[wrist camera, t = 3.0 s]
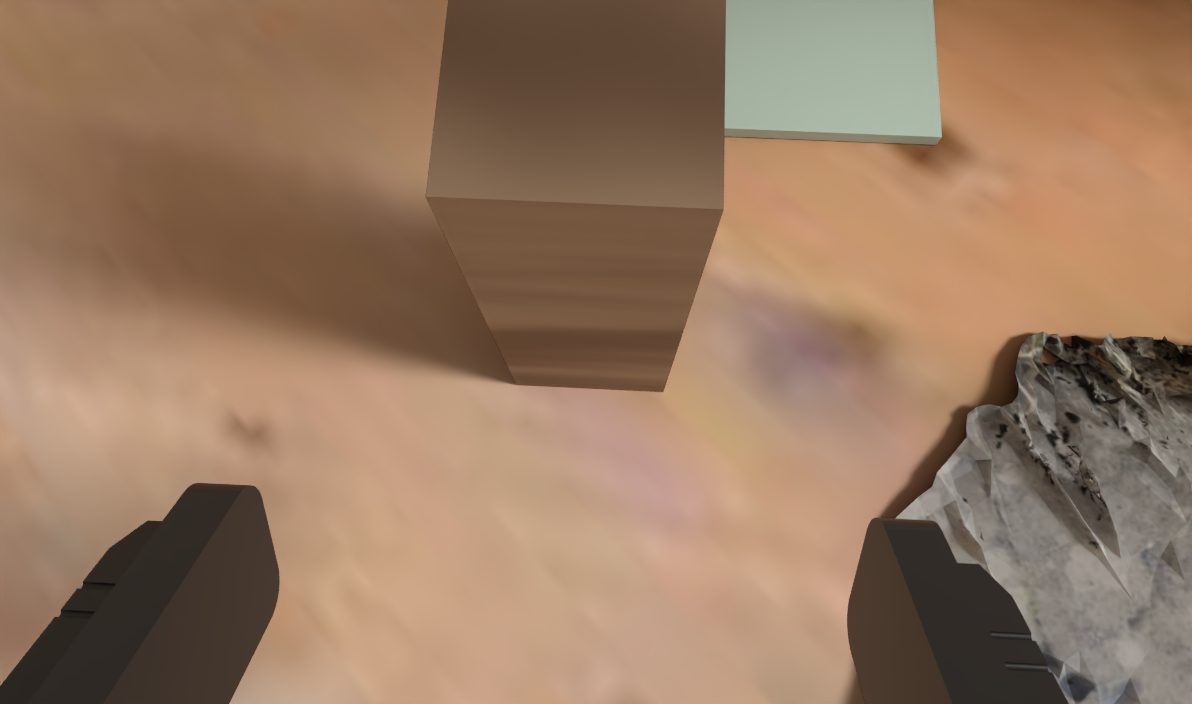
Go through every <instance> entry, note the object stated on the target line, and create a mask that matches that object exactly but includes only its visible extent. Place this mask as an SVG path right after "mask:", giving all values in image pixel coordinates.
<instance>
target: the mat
mask: <svg viewBox="0 0 1192 704" xmlns="http://www.w3.org/2000/svg"><path fill="white" fill-rule="evenodd" d="M724 136H730V137H754V138H779V139H803V140H827V141H852V142H876V143H901V144H925V145H936V144H937V143H938V141H939V140H940V139H941V138H942V132H941V116H940V101H939V86H938V70H937V55H936V40H935V24H934V9H933V0H726V50H725V131H724Z"/></svg>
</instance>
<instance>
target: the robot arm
mask: <svg viewBox="0 0 1192 704" xmlns="http://www.w3.org/2000/svg"><path fill="white" fill-rule="evenodd" d="M278 592H279V569H278V564H277V560H276V555H275V551H274V547H273V543H272V538H271V534H270V530H269V526H268V521H267V517H266V513H265V509H264V504H263V500H262V497H261V494H260V492H259V490H258V489H257V488H256V487H255V486H250V485H229V484H208V483H195V484H193V485H191V486H190V487H188V488H187V489H186V490H185V492H184V493H183V494H182V496H181V497H180V498H179V500H178V501H177V502H176V504H175V505H174V506H173V508H172V509H171V510H170V512H169V513H168V514H167V516H166V517H165V518H164V520H163V521H147V522H145V523H144V524H142V525H141V526H140V527H138V528H137V529H136V530H134V531H133V532H131V533H130V534H129V535H127V536H126V537H124V538H123V539H122V540H120V541H119V542H118V543H116V544H115V545H113V546H112V547H111V548H109V549H108V551H107V552H106V553H105V554H104V556H103V557H102V558H101V560H100V561H99V562H98V563H97V565H96V566H95V567H94V568H93V570H92V571H91V572H90V573H89V575H88V576H87V577H86V579H85V580H84V581H83V587H82V588H81V589H77V590H76V591H75V592H74V594H73V595H72V596H71V597H70V599H69V600H68V601H67V603H66V604H65V605H64V606H63V608H62V609H61V615H60V616H59V617H55V618H54V619H53V620H52V621H51V623H50V624H49V625H48V627H47V628H46V629H45V630H44V632H43V633H42V634H41V635H40V637H39V638H38V639H37V640H36V642H35V643H34V644H33V645H32V647H31V648H30V649H29V651H28V652H27V653H26V654H25V656H24V657H23V658H22V659H21V661H20V662H19V663H18V664H17V666H16V667H15V668H14V669H13V671H12V672H11V673H10V675H9V676H8V677H7V678H6V680H5V681H4V682H3V683H2V685H1V686H0V704H229V703H230V701H231V699H232V697H233V695H234V693H235V691H236V689H237V687H238V685H239V683H240V681H241V679H242V677H243V675H244V672H245V670H246V668H247V666H248V664H249V662H250V660H251V658H252V656H253V654H254V652H255V650H256V648H257V646H258V644H259V642H260V640H261V638H262V636H263V634H264V632H265V630H266V628H267V626H268V624H269V622H270V620H271V618H272V616H273V613H274V610H275V607H276V603H277V598H278ZM847 628H848V638H849V645H850V650H851V654H852V657H853V661H854V664H855V668H856V672H857V675H858V679H859V682H860V686H861V689H862V693H863V697H864V700H865V704H1069V703H1068V701H1067V699H1066V697H1065V696H1064V694H1063V692H1062V690H1061V688H1060V686H1059V684H1058V682H1057V680H1056V678H1055V677H1054V675H1053V673H1052V672H1049V671H1048V663H1047V661H1046V659H1045V658H1044V656H1043V654H1042V652H1041V650H1040V648H1039V646H1038V644H1037V642H1036V641H1033V640H1032V637H1031V634H1032V633H1031V631H1030V629H1029V627H1028V625H1027V623H1026V621H1025V620H1024V618H1023V616H1022V614H1021V612H1020V610H1019V608H1018V606H1017V604H1016V602H1015V601H1014V599H1013V597H1012V596H1011V595H1010V594H1009V593H1008V592H1007V591H1006V590H1005V589H1004V588H1003V587H1002V586H1001V585H1000V584H999V583H998V582H997V581H996V580H995V579H994V578H993V577H992V576H991V575H990V574H989V573H988V572H987V571H986V570H985V569H984V568H983V567H982V566H981V565H980V564H969V563H957V561H956V559H955V557H954V555H953V553H952V550H951V548H950V546H949V544H948V542H947V540H946V538H945V536H944V534H943V531H942V530H941V528H940V526H939V525H938V524H937V523H936V522H935V521H932V520H913V519H892V518H874V519H872V520H871V522H870V524H869V526H868V529H867V532H866V536H865V540H864V544H863V548H862V552H861V555H860V559H859V563H858V567H857V571H856V575H855V579H854V583H853V587H852V591H851V594H850V598H849V604H848V614H847Z"/></svg>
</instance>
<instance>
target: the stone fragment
mask: <svg viewBox="0 0 1192 704" xmlns="http://www.w3.org/2000/svg"><path fill="white" fill-rule="evenodd" d="M1071 338H1072V345H1071V346H1069V345H1067V344H1065V343H1063V342H1062V340H1061V339H1060V337H1059V335H1058V334H1054V335H1049V334H1047V333H1044V332H1041V333H1038V334H1035V335H1032V336H1029V337H1027V339H1026V340H1025V342H1024V343H1023V345H1022V346H1021V348H1020V352H1019V355H1018V360H1017V365H1016V370H1015V374H1016V377H1017V381H1018V384H1019V391H1018V396H1017V397H1016V399H1015V400H1014V401H1013V403H1011V404H1008V405H1005V406H1002V407H1000V406H996V405H992V404H988V405H983V406H979V407H976V408H974V409H973V410H972V411H971V412H969V413H968V416H967V425H966V432H967V437H966V439H965V440H964V441H963V442H962V443H961V445H960V446H959V447H958V448H957V450H956V451H955V452H954V453H953V454H952V456H951V457H950V458H949V459H948V461H947V462H946V463H945V464H944V465H943V466H942V467H941V469H940V470H939V471H938V472H937V474H936V477H935V480H934V483H933V486H932V487H931V488H930V489H928V490H927V491H926V492H924V493H923V494H921V495H920V496H919V497H917V498H916V499H915V500H914V501H913V502H912V503H911V504H910V505H909V506H908V507H907V508H906V509H905V510H903V511H902V512H901V513H900V514H899V515H898V516H897V517H896V518H895V519H913V520H932V521H935V522H936V523H937V524H938V525H939V526H940V528H941V530H942V531H943V534H944V536H945V538H946V540H947V542H948V544H949V546H950V548H951V550H952V553H953V555H954V557H955V559H956V561H957V563H969V564H980V565H981V566H982V567H983V568H984V569H985V570H986V571H987V572H988V573H989V574H990V575H991V576H992V577H993V578H994V579H995V580H996V581H997V582H998V583H999V584H1000V585H1001V586H1002V587H1003V588H1004V589H1005V590H1006V591H1007V592H1008V593H1009V594H1010V595H1011V596H1012V597H1013V599H1014V601H1015V602H1016V604H1017V606H1018V608H1019V610H1020V612H1021V614H1022V616H1023V618H1024V620H1025V621H1026V623H1027V625H1028V627H1029V629H1030V631H1031V633H1032V634H1031V637H1032V640H1033V641H1036V642H1037V644H1038V646H1039V648H1040V650H1041V652H1042V654H1043V656H1044V658H1045V659H1046V661H1047V663H1048V671H1049V672H1052V673H1053V675H1054V677H1055V678H1056V680H1057V682H1058V684H1059V686H1060V688H1061V690H1062V692H1063V694H1064V696H1065V697H1066V699H1067V701H1068V703H1069V704H1192V346H1189V345H1181V346H1176V345H1175V344H1173V343H1171V342H1169V341H1168V340H1167V339H1166V337H1165V336H1164V338H1163V339H1162V340H1154V339H1153V338H1152V337H1127V338H1123V339H1112V336H1111V334H1109V335H1108V336H1107V337H1106V338H1105V339H1104V341H1103V345H1099V346H1097V345H1095V344H1094V343H1092V342H1089V341H1087V340H1085V339H1083V338H1080V337H1078V336H1071ZM1043 347H1045V348H1046V349H1048V350H1049V351H1051V352H1052V353H1054V354H1055V355H1056V356H1057V357H1058V358H1059V359H1060V360H1058V361H1057V362H1055V363H1054V364H1052V365H1049V364H1045V363H1043V362H1041V356H1042V350H1043Z"/></svg>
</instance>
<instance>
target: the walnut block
mask: <svg viewBox="0 0 1192 704" xmlns="http://www.w3.org/2000/svg"><path fill="white" fill-rule="evenodd" d="M725 50H726V0H448V8H447V17H446V25H445V34H444V43H443V51H442V60H441V68H440V77H439V86H438V94H437V103H436V112H435V120H434V129H433V138H432V146H431V155H430V163H429V172H428V181H427V189H426V198H427V200H428V202H429V204H430V207H431V209H432V211H433V213H434V215H435V217H436V219H437V221H438V223H439V225H440V227H441V229H442V232H443V234H444V236H445V238H446V240H447V242H448V244H449V246H450V248H451V250H452V252H453V254H454V256H455V259H456V261H457V263H458V265H459V267H460V269H461V271H462V273H463V275H464V277H465V279H466V281H467V283H468V286H469V288H470V290H471V292H472V294H473V296H474V298H475V300H476V302H477V304H478V306H479V308H480V311H481V313H482V315H483V317H484V319H485V321H486V323H487V325H488V327H489V329H490V331H491V333H492V335H493V338H494V340H495V342H496V344H497V346H498V348H499V350H500V352H501V354H502V356H503V358H504V360H505V362H506V365H507V367H508V369H509V371H510V373H511V375H512V377H513V379H514V381H515V383H516V385H530V386H551V387H571V388H592V389H612V390H633V391H654V392H663V391H664V388H665V385H666V382H667V379H668V376H669V373H670V370H671V367H672V364H673V361H674V358H675V355H676V352H677V349H678V346H679V343H680V340H681V337H682V333H683V330H684V327H685V324H686V321H687V318H688V315H689V312H690V309H691V306H692V303H693V300H694V297H695V294H696V291H697V288H698V285H699V282H700V279H701V276H702V273H703V270H704V267H705V264H706V261H707V258H708V255H709V252H710V249H711V246H712V243H713V240H714V237H715V234H716V231H717V228H718V225H719V222H720V219H721V216H722V212H723V209H724V131H725Z"/></svg>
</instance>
